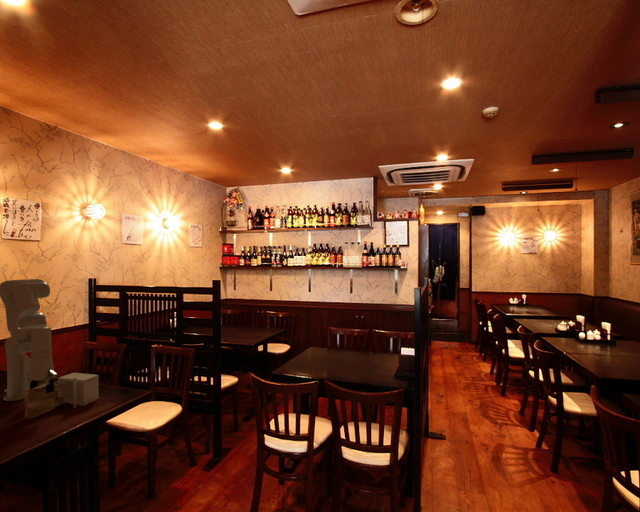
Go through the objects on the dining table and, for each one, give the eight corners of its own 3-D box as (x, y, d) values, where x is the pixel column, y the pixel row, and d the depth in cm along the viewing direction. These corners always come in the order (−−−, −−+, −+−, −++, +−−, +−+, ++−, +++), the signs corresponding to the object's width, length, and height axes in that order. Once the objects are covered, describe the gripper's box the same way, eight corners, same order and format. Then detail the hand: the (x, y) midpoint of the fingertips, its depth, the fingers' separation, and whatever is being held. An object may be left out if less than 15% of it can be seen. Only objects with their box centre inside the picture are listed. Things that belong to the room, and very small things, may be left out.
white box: (50, 405, 168) (50, 376, 168) (73, 396, 179) (73, 368, 180) (76, 408, 164) (76, 378, 164) (98, 399, 175) (98, 371, 175)
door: (23, 418, 155) (23, 390, 155) (57, 404, 170) (57, 379, 170) (31, 419, 154) (31, 391, 154) (65, 405, 169) (64, 380, 169)
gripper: (18, 355, 159) (18, 393, 158) (47, 356, 154) (47, 396, 154) (35, 351, 166) (36, 387, 166) (63, 352, 162) (64, 390, 161)
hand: (41, 391), depth 160 cm, fingers open, 9 cm apart
